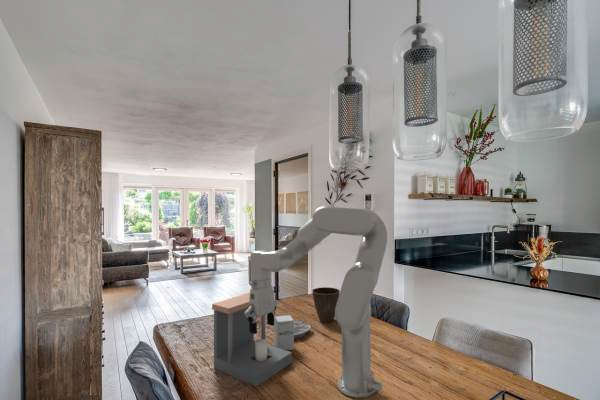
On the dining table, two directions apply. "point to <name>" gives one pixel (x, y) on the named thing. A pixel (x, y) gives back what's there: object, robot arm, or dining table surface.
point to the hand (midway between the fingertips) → (262, 328)
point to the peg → (261, 350)
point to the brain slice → (300, 329)
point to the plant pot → (325, 303)
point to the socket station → (242, 344)
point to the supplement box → (284, 332)
